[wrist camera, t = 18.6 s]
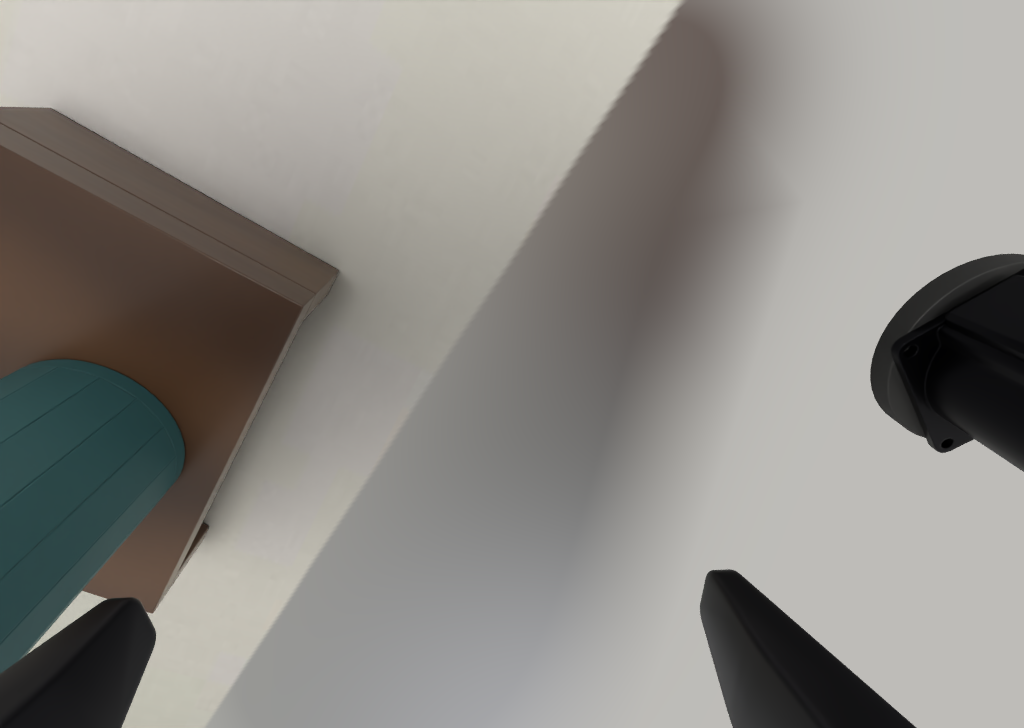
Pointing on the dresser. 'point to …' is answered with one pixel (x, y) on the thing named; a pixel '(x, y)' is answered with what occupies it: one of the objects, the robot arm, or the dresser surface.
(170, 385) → the brown wooden pedestal
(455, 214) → the dresser surface
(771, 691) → the robot arm
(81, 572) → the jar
